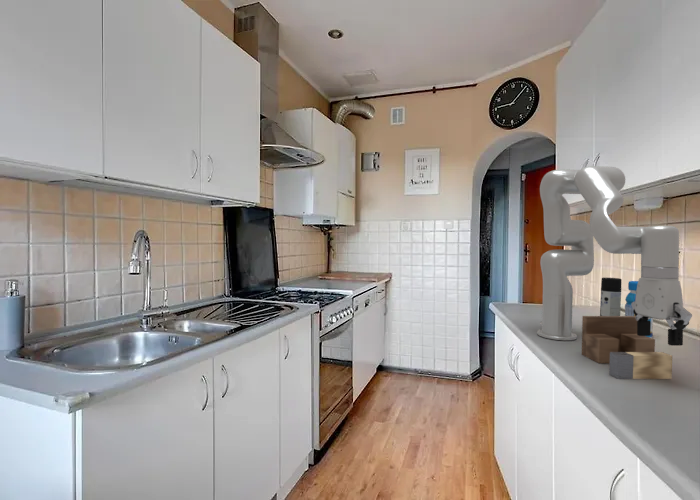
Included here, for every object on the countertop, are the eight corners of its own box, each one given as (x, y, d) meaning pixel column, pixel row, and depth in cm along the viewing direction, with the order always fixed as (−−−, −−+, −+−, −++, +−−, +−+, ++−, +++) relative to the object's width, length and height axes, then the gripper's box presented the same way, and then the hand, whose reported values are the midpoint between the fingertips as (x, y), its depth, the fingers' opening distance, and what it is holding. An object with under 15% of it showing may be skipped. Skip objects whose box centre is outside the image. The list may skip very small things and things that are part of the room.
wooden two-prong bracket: (581, 354, 115) (582, 316, 115) (633, 354, 116) (634, 316, 115) (598, 363, 107) (600, 322, 107) (654, 363, 108) (655, 322, 107)
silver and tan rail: (617, 378, 96) (618, 355, 96) (609, 374, 99) (609, 351, 99) (671, 378, 96) (672, 355, 96) (661, 374, 99) (662, 352, 99)
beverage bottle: (618, 334, 139) (620, 281, 138) (634, 332, 142) (635, 280, 141) (642, 340, 131) (644, 283, 130) (658, 338, 134) (660, 282, 133)
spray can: (600, 325, 153) (601, 276, 153) (620, 328, 149) (622, 278, 148) (598, 328, 148) (600, 278, 147) (619, 331, 144) (621, 279, 143)
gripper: (620, 271, 105) (619, 332, 105) (674, 276, 88) (673, 349, 88) (646, 271, 105) (646, 332, 105) (705, 276, 88) (705, 349, 88)
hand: (658, 340), depth 96 cm, fingers open, 9 cm apart
